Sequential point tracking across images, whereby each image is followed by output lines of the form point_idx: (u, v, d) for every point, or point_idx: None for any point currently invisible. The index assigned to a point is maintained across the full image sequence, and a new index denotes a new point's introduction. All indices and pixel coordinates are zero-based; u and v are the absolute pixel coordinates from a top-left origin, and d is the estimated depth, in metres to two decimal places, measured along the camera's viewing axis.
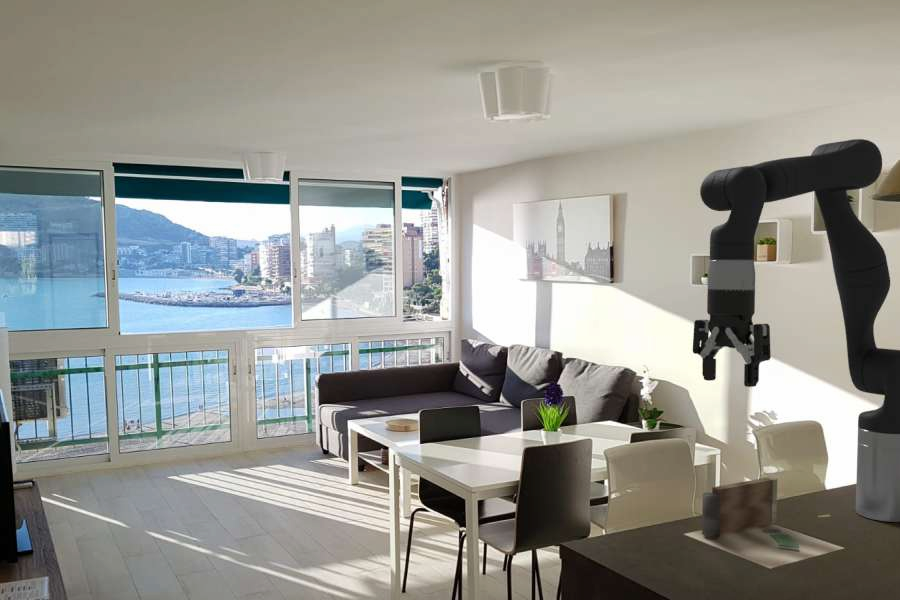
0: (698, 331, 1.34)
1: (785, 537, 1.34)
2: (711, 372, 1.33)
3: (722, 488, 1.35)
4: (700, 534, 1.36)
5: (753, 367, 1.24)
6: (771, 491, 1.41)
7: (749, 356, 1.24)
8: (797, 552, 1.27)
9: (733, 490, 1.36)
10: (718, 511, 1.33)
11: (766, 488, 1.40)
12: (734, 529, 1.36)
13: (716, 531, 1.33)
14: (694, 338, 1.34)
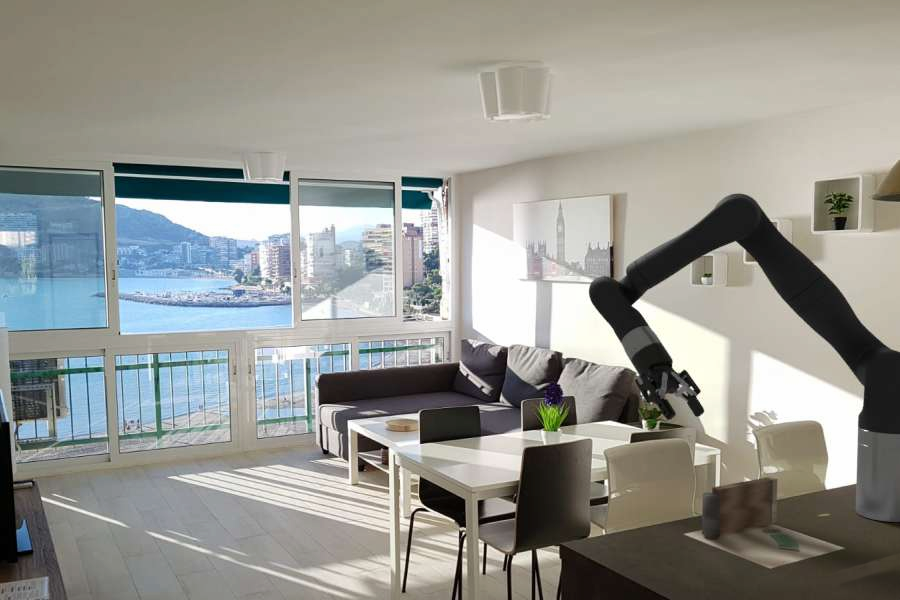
0: None
1: (785, 537, 1.34)
2: (695, 409, 1.56)
3: (722, 488, 1.35)
4: (700, 534, 1.36)
5: (658, 406, 1.53)
6: (771, 491, 1.41)
7: None
8: (797, 552, 1.27)
9: (733, 490, 1.36)
10: (718, 511, 1.33)
11: (766, 488, 1.40)
12: (734, 529, 1.36)
13: (716, 531, 1.33)
14: None
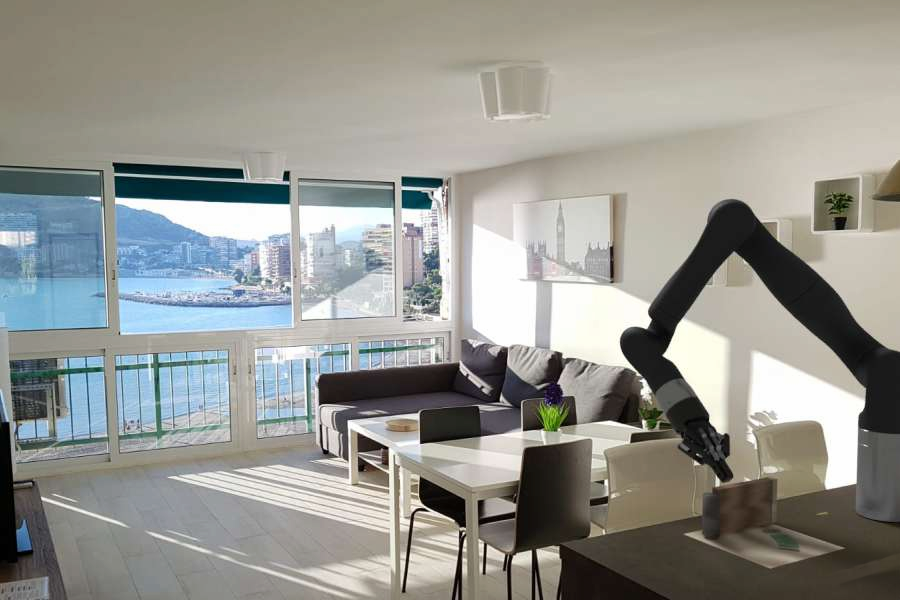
0: None
1: (785, 537, 1.34)
2: None
3: (722, 488, 1.35)
4: (700, 534, 1.36)
5: (712, 468, 1.47)
6: (771, 491, 1.41)
7: None
8: (797, 552, 1.27)
9: (733, 490, 1.36)
10: (718, 511, 1.33)
11: (766, 488, 1.40)
12: (734, 529, 1.36)
13: (716, 531, 1.33)
14: None
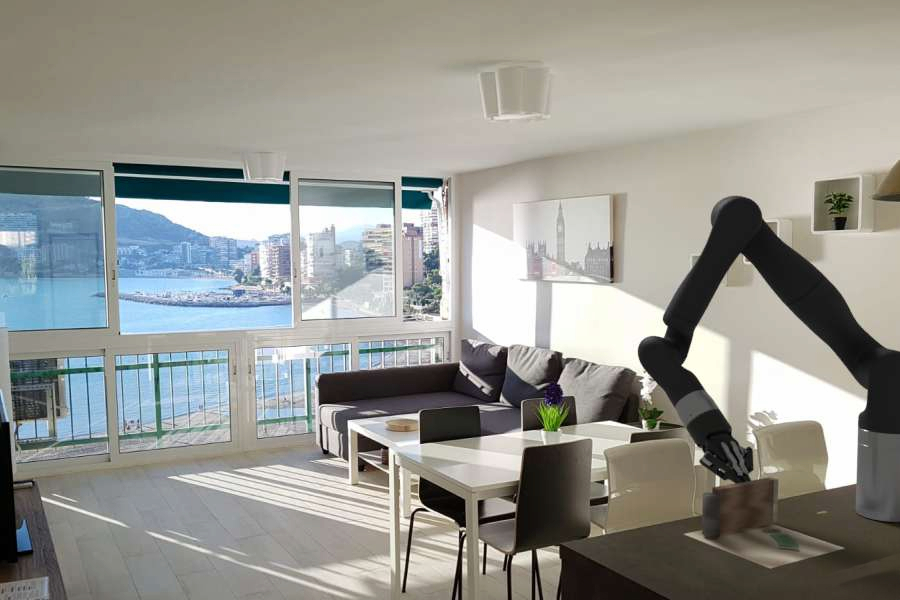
0: None
1: (785, 537, 1.34)
2: None
3: (722, 488, 1.35)
4: (700, 534, 1.36)
5: None
6: (772, 491, 1.40)
7: None
8: (797, 552, 1.27)
9: (733, 490, 1.35)
10: (718, 511, 1.33)
11: (767, 488, 1.40)
12: (734, 529, 1.36)
13: (716, 531, 1.33)
14: None
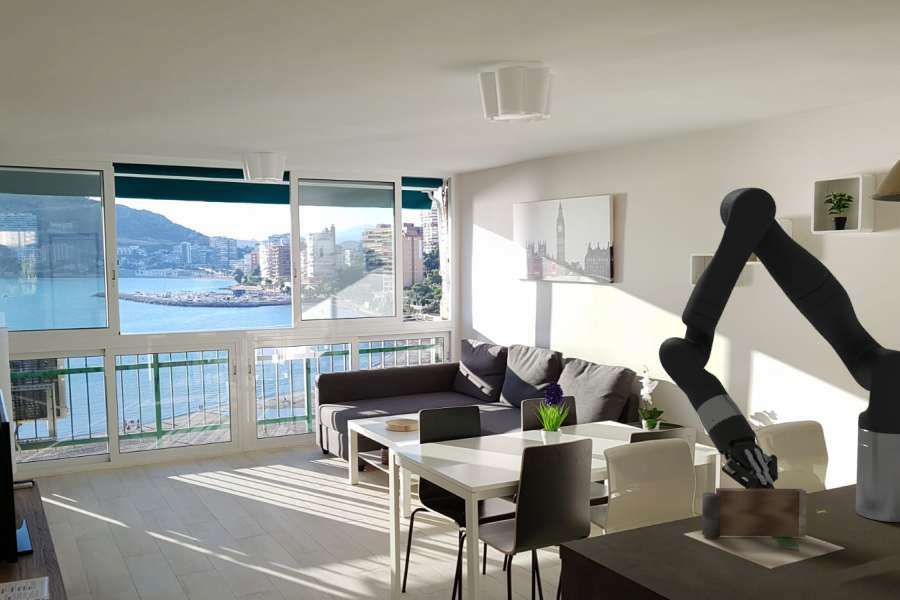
0: None
1: (785, 537, 1.34)
2: None
3: (725, 490, 1.34)
4: (700, 534, 1.36)
5: None
6: (797, 503, 1.33)
7: None
8: (797, 552, 1.27)
9: (739, 494, 1.33)
10: (714, 511, 1.33)
11: (789, 499, 1.33)
12: (741, 534, 1.33)
13: (711, 531, 1.33)
14: None
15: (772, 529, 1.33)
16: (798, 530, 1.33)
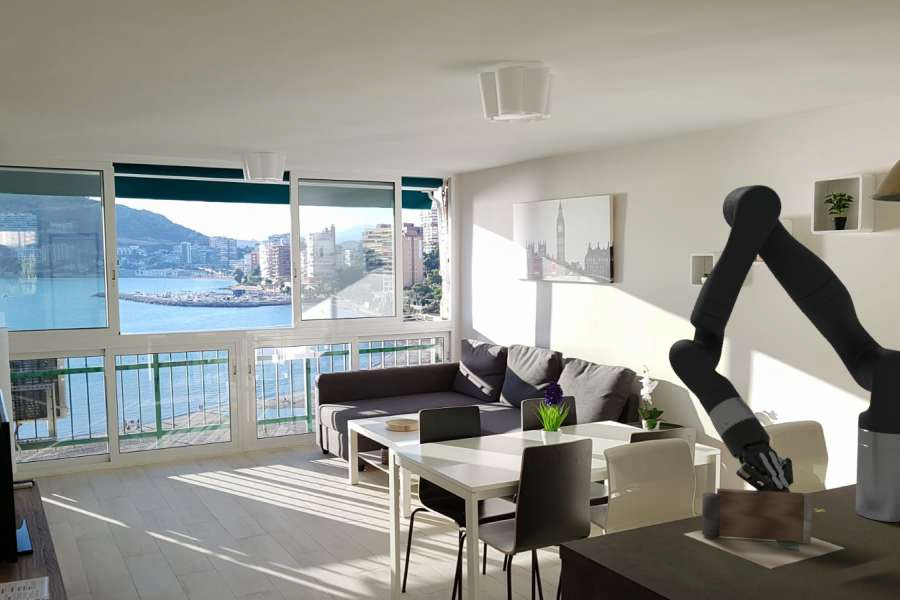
0: None
1: None
2: None
3: (725, 490, 1.33)
4: (700, 534, 1.36)
5: None
6: (802, 507, 1.31)
7: None
8: (797, 552, 1.27)
9: (739, 495, 1.32)
10: (713, 511, 1.33)
11: (793, 503, 1.31)
12: (742, 536, 1.33)
13: (710, 531, 1.33)
14: None
15: (775, 532, 1.32)
16: (803, 535, 1.31)
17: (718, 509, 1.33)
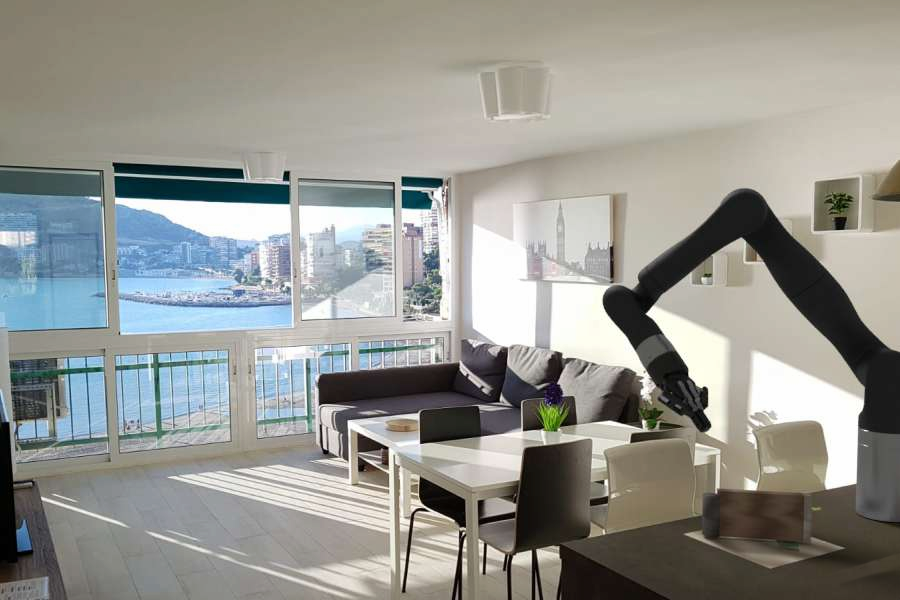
0: None
1: None
2: None
3: (725, 490, 1.33)
4: (700, 534, 1.36)
5: (691, 418, 1.52)
6: (802, 507, 1.31)
7: None
8: (797, 552, 1.27)
9: (739, 495, 1.32)
10: (713, 511, 1.33)
11: (793, 503, 1.31)
12: (742, 536, 1.33)
13: (710, 531, 1.33)
14: None
15: (775, 532, 1.32)
16: (803, 535, 1.31)
17: (718, 509, 1.33)
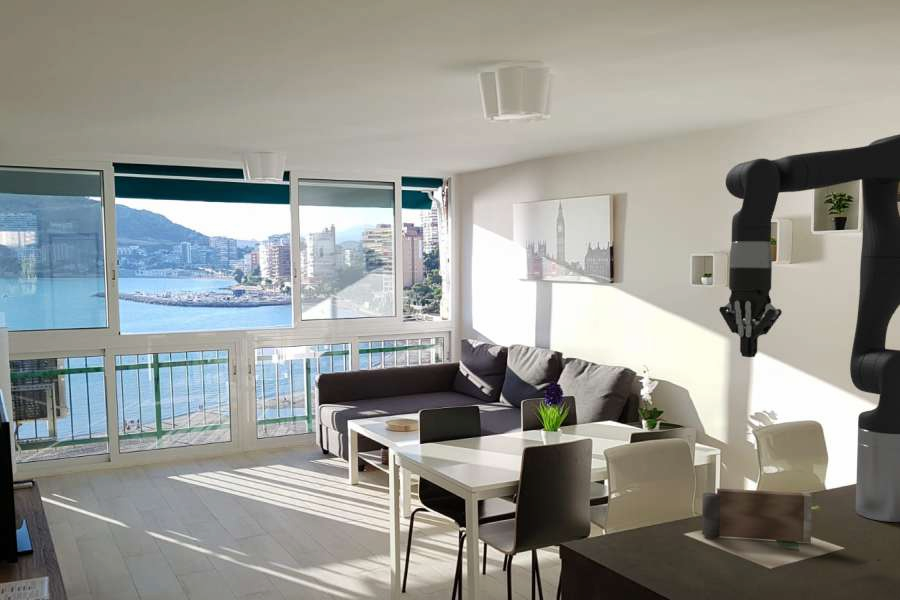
0: (726, 314, 1.49)
1: None
2: None
3: (725, 490, 1.33)
4: (700, 534, 1.36)
5: (752, 340, 1.45)
6: (802, 507, 1.31)
7: (751, 332, 1.44)
8: (797, 552, 1.27)
9: (739, 495, 1.32)
10: (713, 511, 1.33)
11: (793, 503, 1.31)
12: (742, 536, 1.33)
13: (710, 531, 1.33)
14: (727, 322, 1.49)
15: (775, 532, 1.32)
16: (803, 535, 1.31)
17: (718, 509, 1.33)
